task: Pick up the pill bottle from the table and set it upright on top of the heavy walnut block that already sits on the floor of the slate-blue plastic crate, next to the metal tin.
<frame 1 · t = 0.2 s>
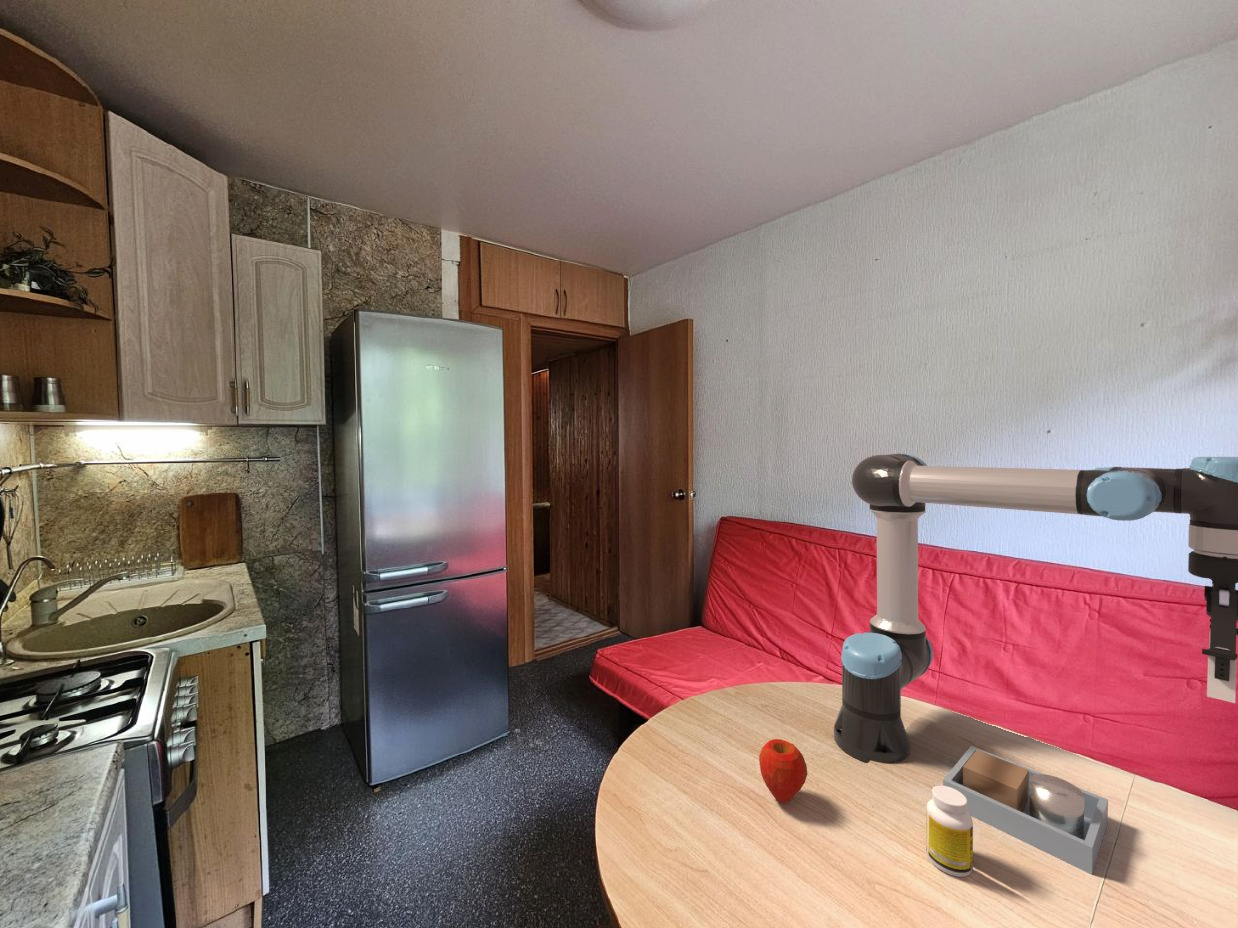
hand: (1220, 684, 79), 28 cm above the table, fingers open, 13 cm apart
metal tin: (1055, 826, 84), point 1 cm above the table, touching crate
walnut block: (995, 799, 91), point 1 cm above the table, touching crate
pill bottle: (948, 863, 79), on the table
apple: (782, 800, 93), on the table
crate: (1022, 816, 88), on the table
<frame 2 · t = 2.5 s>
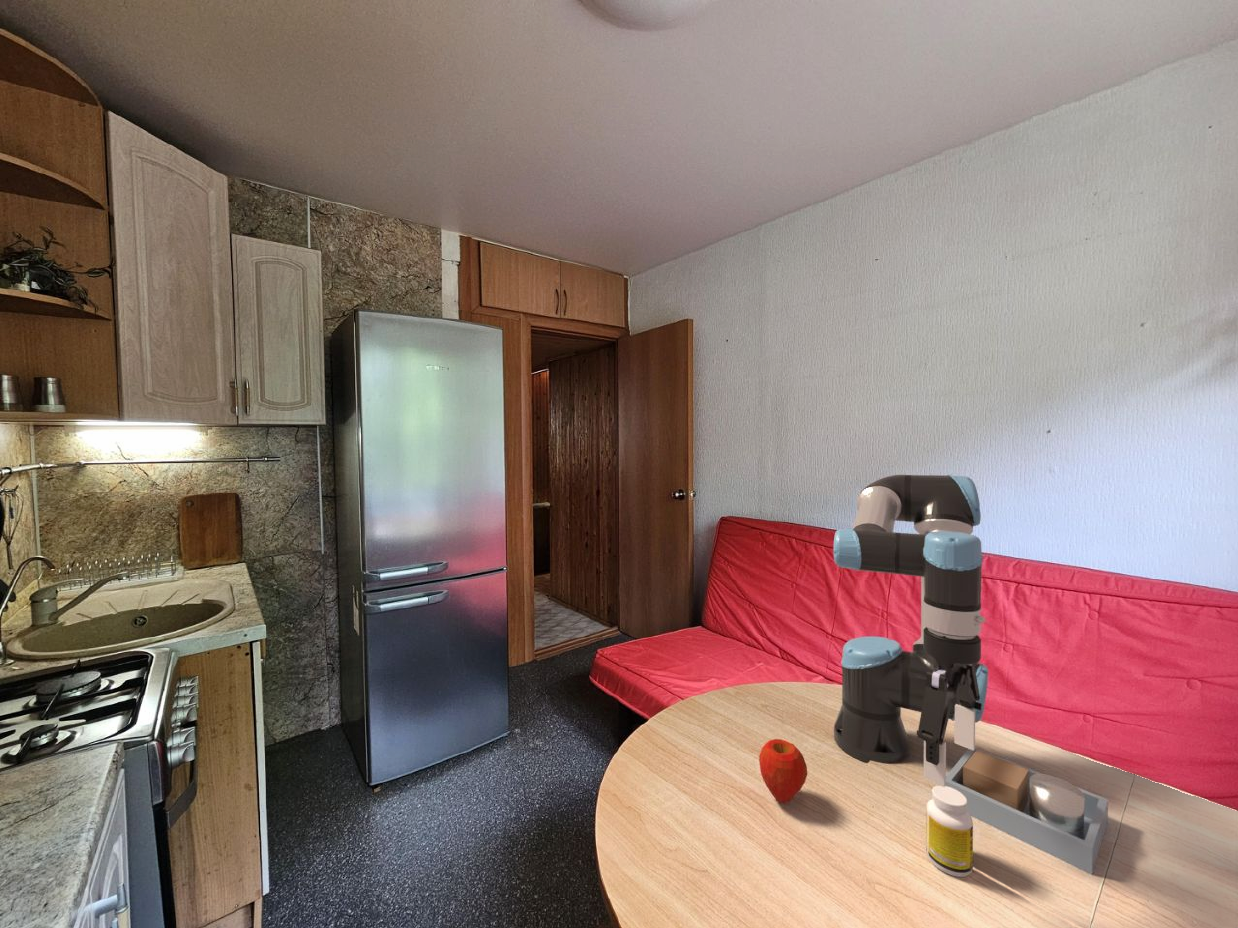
hand: (950, 762, 78), 16 cm above the table, fingers open, 13 cm apart
nothing on the table moved.
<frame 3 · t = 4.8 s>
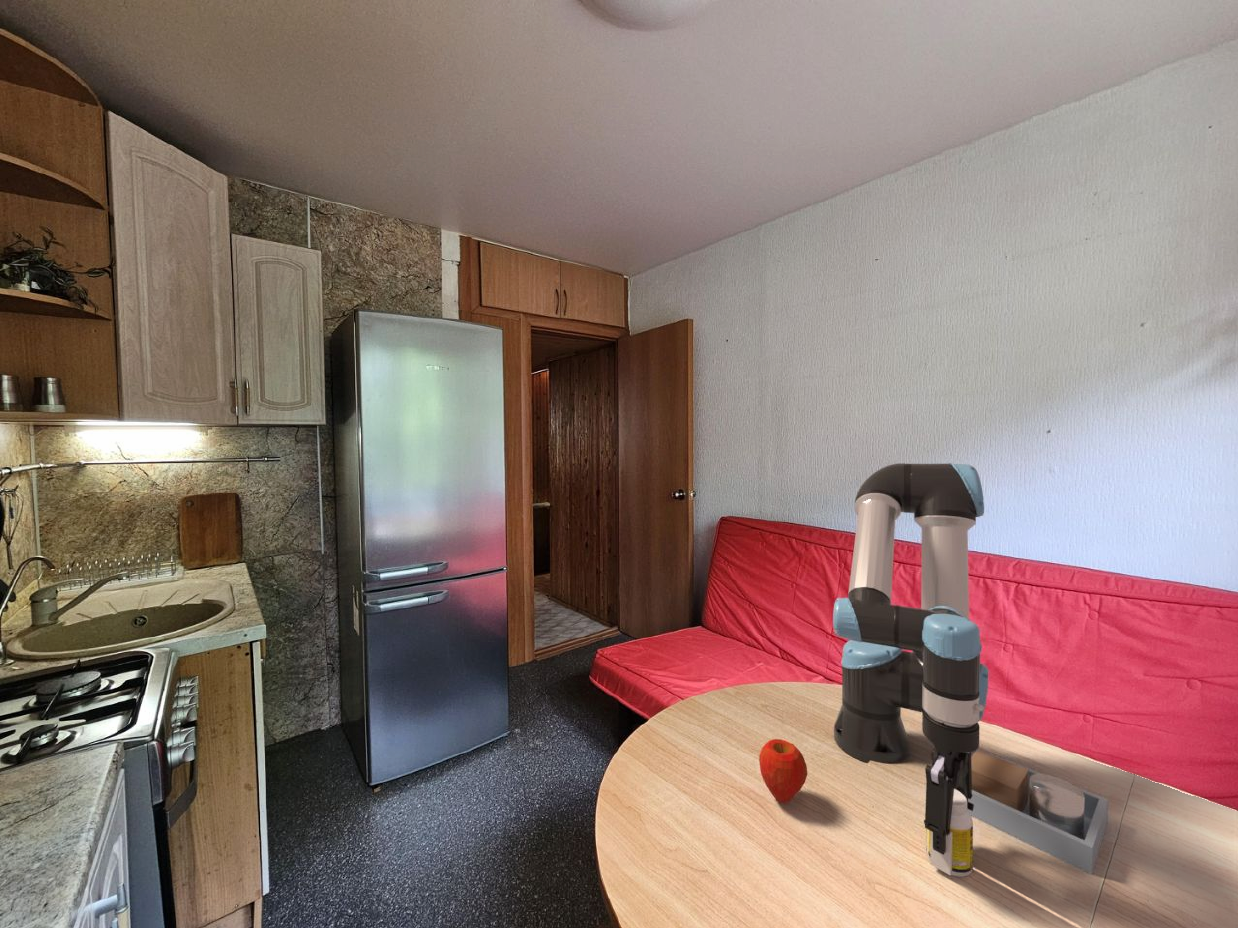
hand: (948, 856, 78), 1 cm above the table, fingers closed on pill bottle, 6 cm apart
pill bottle: (948, 863, 79), on the table, touching gripper
everything else where it was.
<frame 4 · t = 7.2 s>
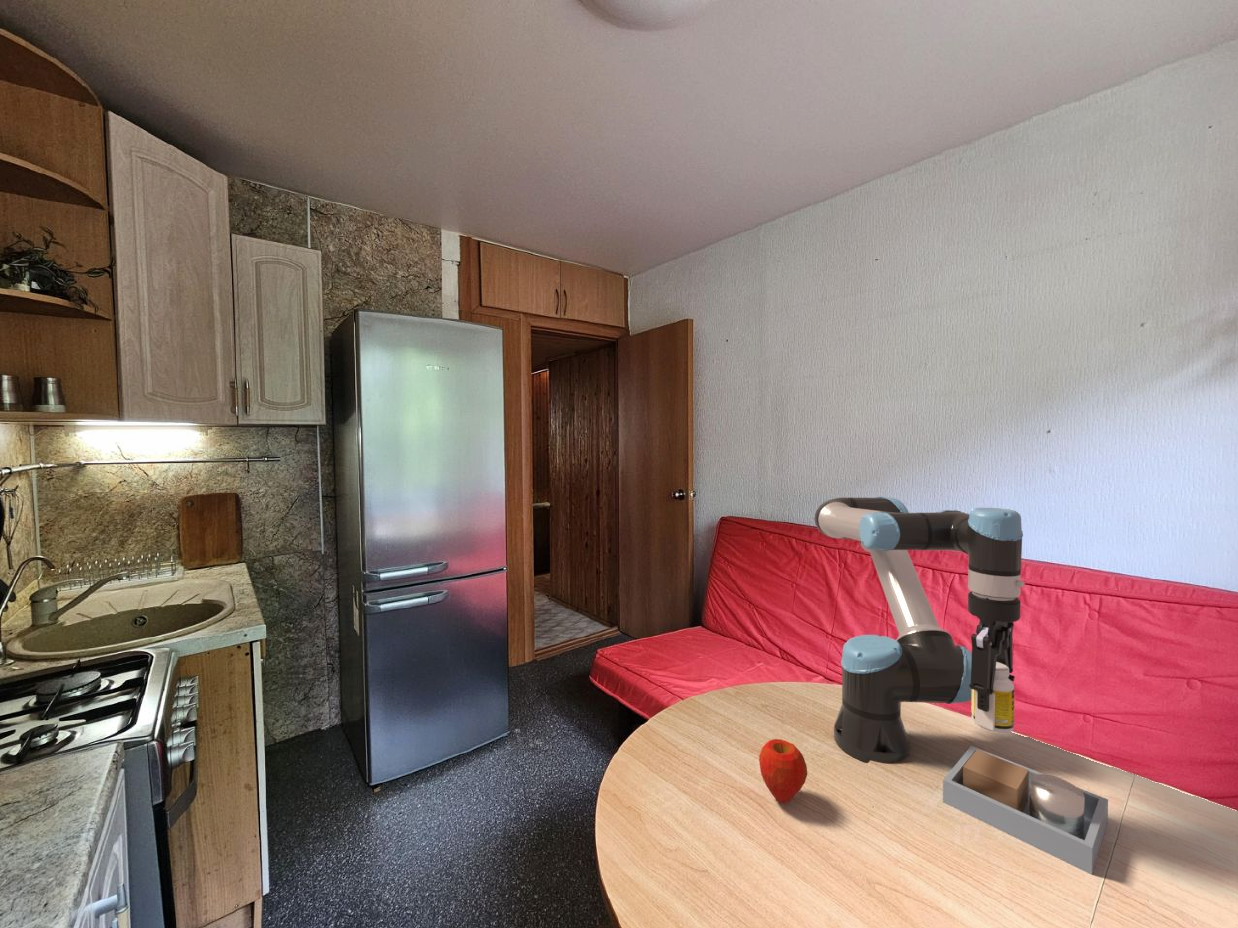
hand: (991, 719, 89), 17 cm above the table, fingers closed on pill bottle, 6 cm apart
pill bottle: (991, 725, 89), point 16 cm above the table, touching gripper
everything else where it was.
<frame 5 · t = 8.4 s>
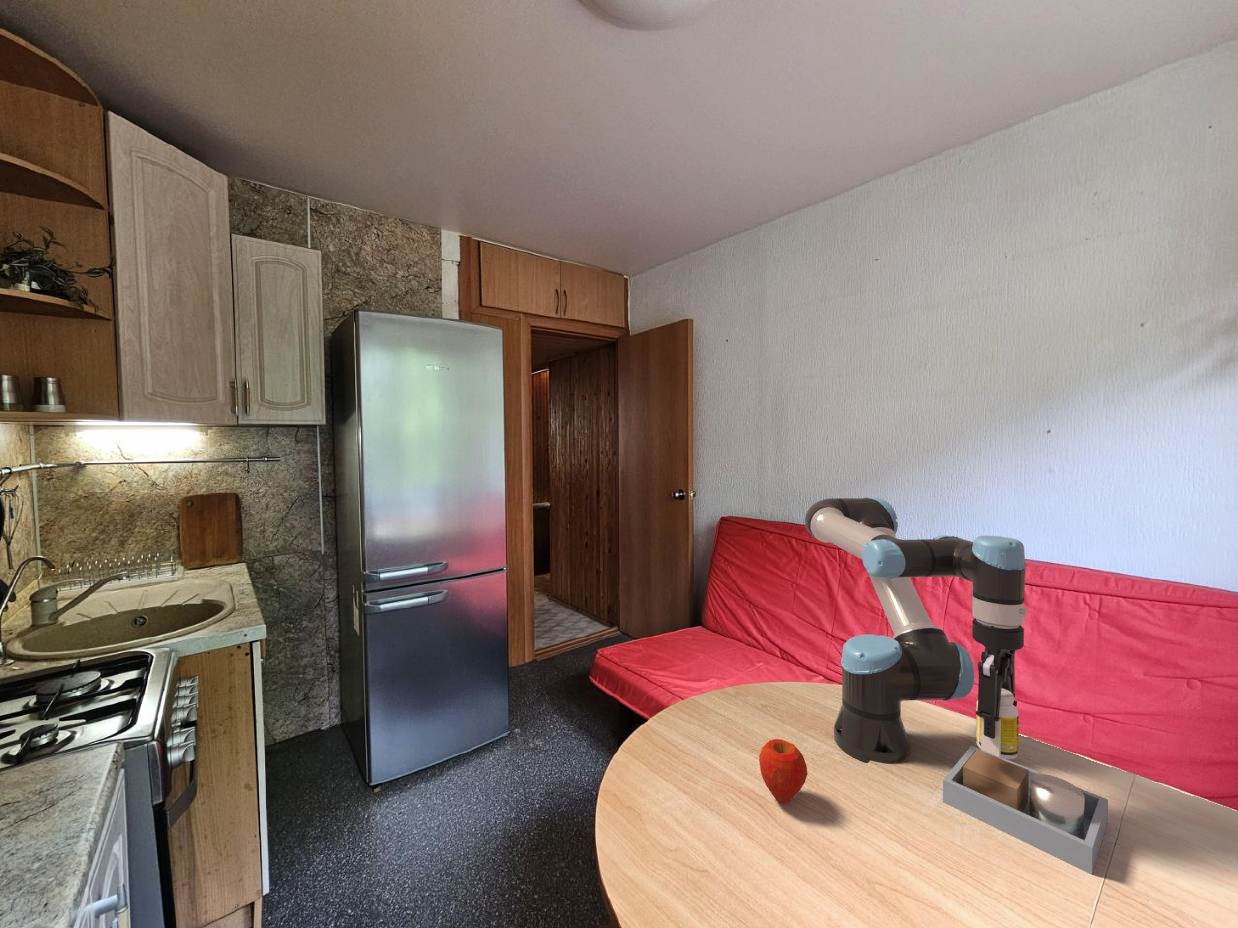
hand: (996, 744, 90), 11 cm above the table, fingers closed on pill bottle, 6 cm apart
pill bottle: (996, 751, 90), point 10 cm above the table, touching gripper
everything else where it was.
when the fingers open (9 cm above the table, at t = 9.5 s): pill bottle drops 2 cm, resting on walnut block.
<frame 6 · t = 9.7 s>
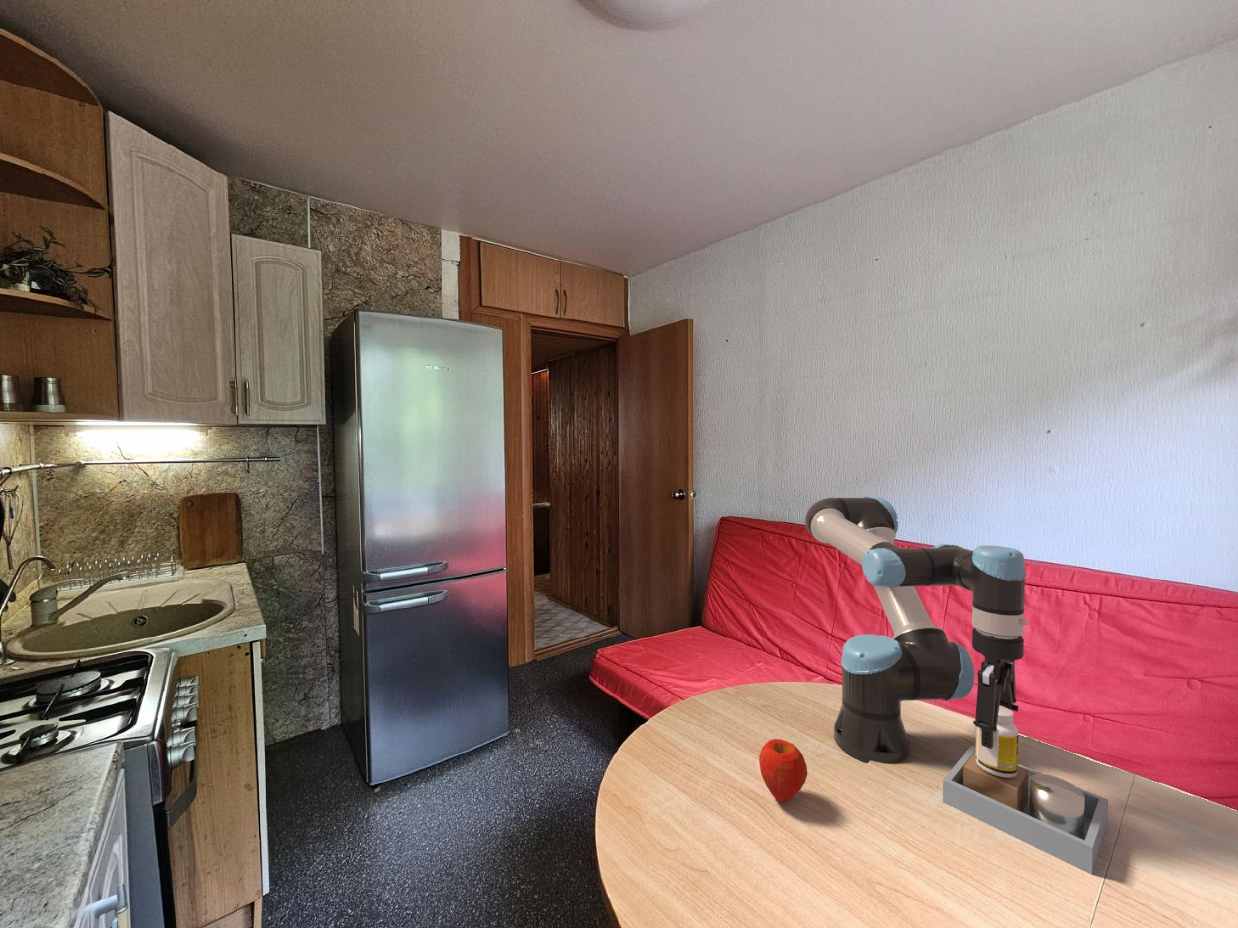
hand: (995, 752, 91), 10 cm above the table, fingers open, 8 cm apart
walnut block: (995, 799, 91), point 1 cm above the table, touching crate, pill bottle
pill bottle: (995, 769, 91), point 7 cm above the table, touching walnut block
everything else where it was.
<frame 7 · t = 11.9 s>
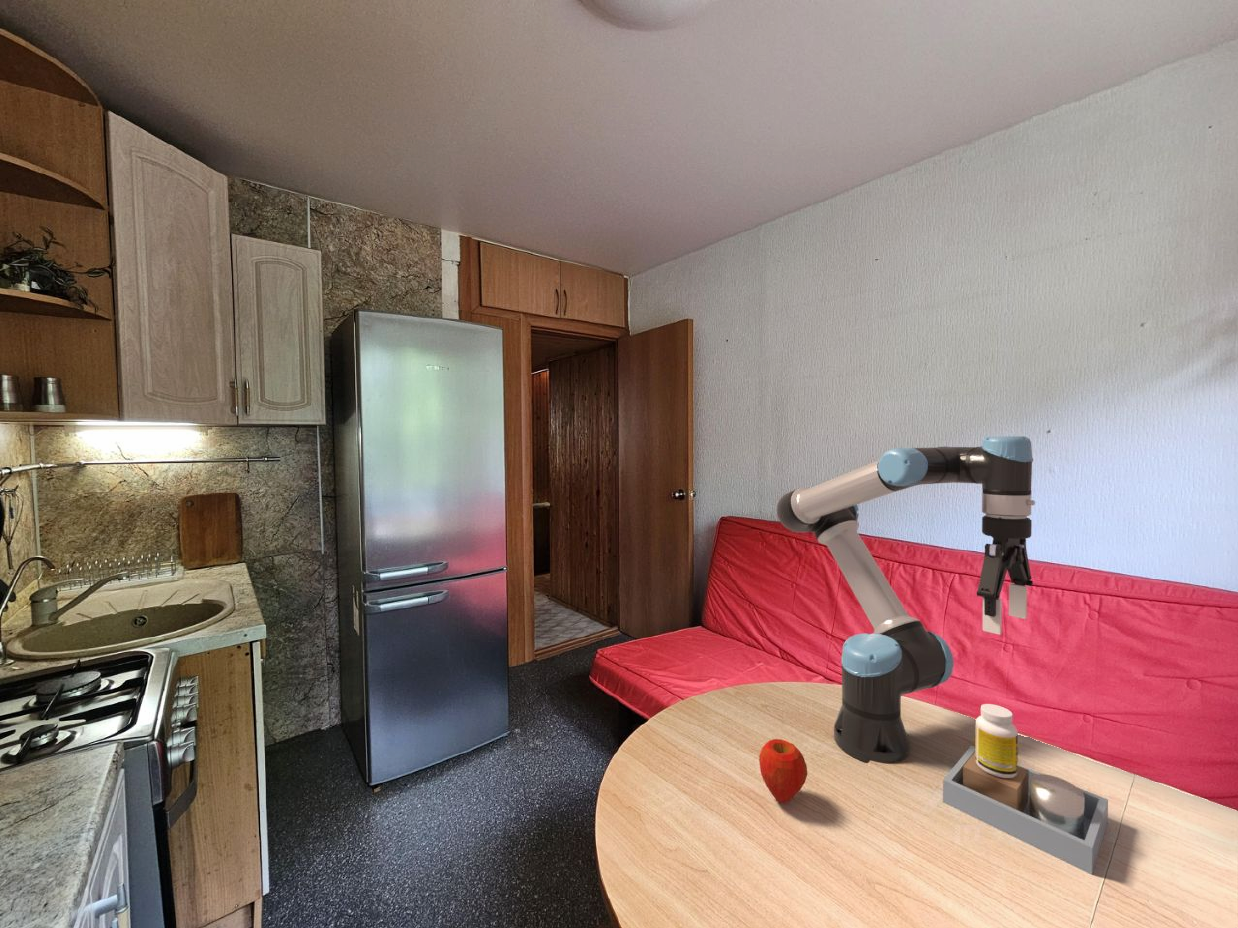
hand: (1005, 624, 95), 32 cm above the table, fingers open, 13 cm apart
nothing on the table moved.
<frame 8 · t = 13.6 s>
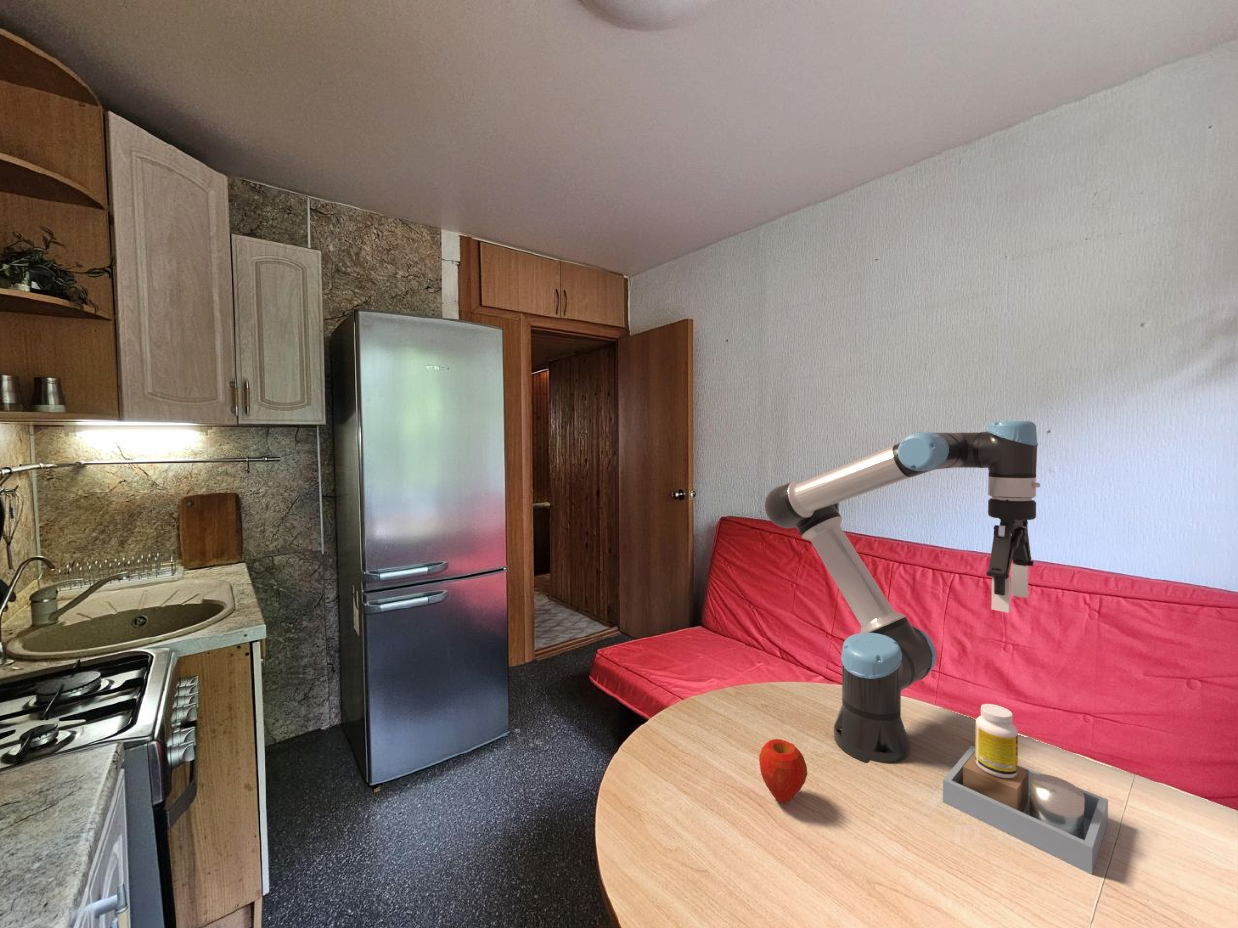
hand: (1010, 603, 99), 35 cm above the table, fingers open, 13 cm apart
nothing on the table moved.
at the end: pill bottle inside the target area on the walnut block (0.1 cm from its centre), point 5.8 cm above the walnut block's base; pill bottle tilted 0°; the gripper is holding nothing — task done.
